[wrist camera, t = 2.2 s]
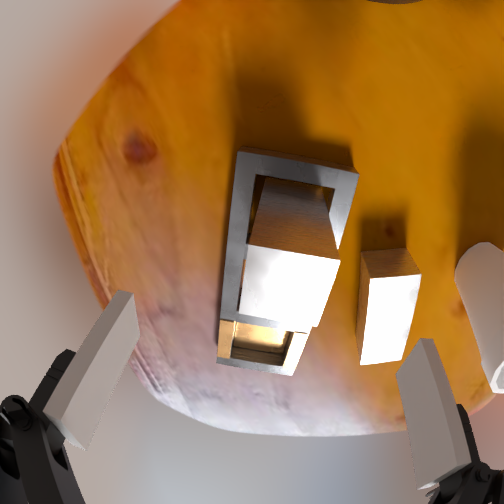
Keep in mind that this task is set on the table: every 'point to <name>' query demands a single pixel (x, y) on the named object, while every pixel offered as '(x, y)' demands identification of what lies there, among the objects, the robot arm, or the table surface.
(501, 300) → the foam cup
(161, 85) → the table surface
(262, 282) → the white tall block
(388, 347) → the block
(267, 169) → the grey flat frame
